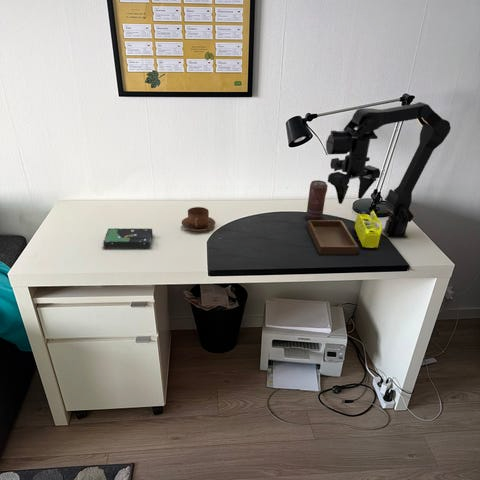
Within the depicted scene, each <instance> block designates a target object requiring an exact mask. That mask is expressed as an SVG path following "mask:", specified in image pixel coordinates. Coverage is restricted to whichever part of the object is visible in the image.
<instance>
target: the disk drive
mask: <svg viewBox="0 0 480 480" xmlns="http://www.w3.org/2000/svg"><path fill="white" fill-rule="evenodd" d="M153 233H154V232H153V228H122V227H121V228H108V229H107V231H106V233H105V236H104V239H103V248H104V249H150V248H151V245H152V240H153Z"/></svg>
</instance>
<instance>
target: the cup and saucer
mask: <svg viewBox="0 0 480 480" xmlns="http://www.w3.org/2000/svg"><path fill="white" fill-rule="evenodd" d="M209 214H210V213H209V209H208V208H206V207H202V206H195V207H191V208H188V209H187V217H185V218H184V219H182V220H181V226H182V227H183V228H184V229H185V230H188V231H191V232H206V231H210V230H211V229H213V228H214V227H215V225H216V221H215V219H213V218H212V217H209V216H210V215H209Z"/></svg>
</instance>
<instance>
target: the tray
mask: <svg viewBox="0 0 480 480" xmlns="http://www.w3.org/2000/svg"><path fill="white" fill-rule="evenodd" d="M306 228H307V230H308V232H309V234H310V238H311V239H312V241H313V243H314V245H315V248H316V249H317V252H318V255H320V256H321V255H323V256H325V255H334V256H335V255H341V256H342V255H345V256H346V255H347V256H348V255H349V256H350V255H352V256H353V255H358V252H359V248H360V247H359V245H358V243H357V242H356V240H355V239H354V237H353V236H352V234H351V232H350V231H349V229H348V228H347V226H346V224H345V223H344V222H343V220H341V219H321V220H307V225H306Z"/></svg>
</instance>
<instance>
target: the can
mask: <svg viewBox="0 0 480 480" xmlns="http://www.w3.org/2000/svg"><path fill="white" fill-rule="evenodd" d="M327 192H328V183H327V182H326V181H323V180H319V179H318V180H317V179H316V180H315V179H314V180H312V181H311V183H310V184H309V191H308V200H307V207H306V215H305V218H306V220H307V221H308V220H323V214H324V208H325V202H326V195H327V194H328V193H327Z"/></svg>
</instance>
